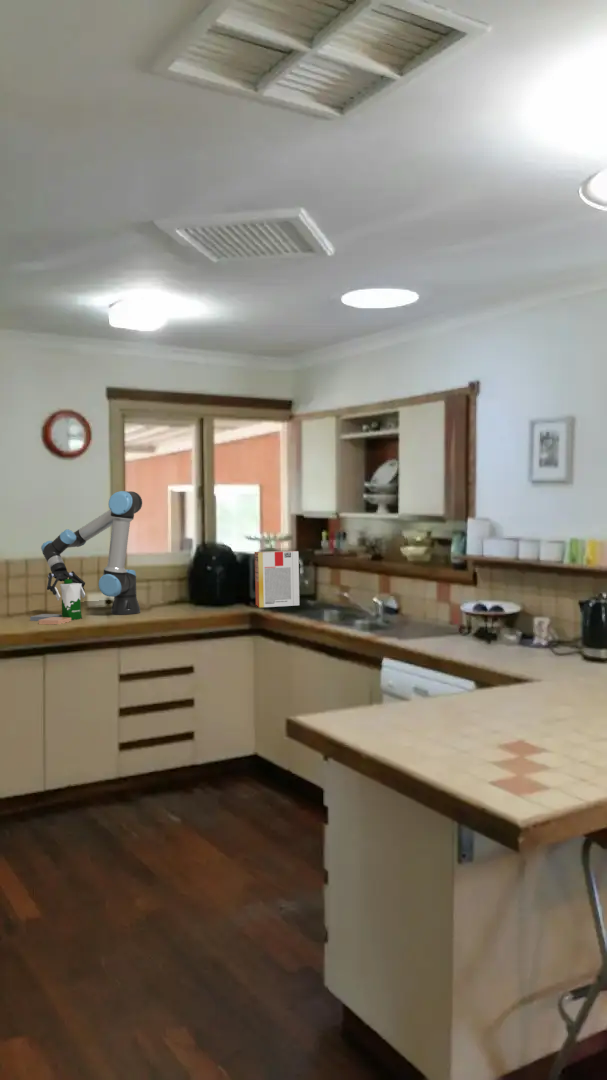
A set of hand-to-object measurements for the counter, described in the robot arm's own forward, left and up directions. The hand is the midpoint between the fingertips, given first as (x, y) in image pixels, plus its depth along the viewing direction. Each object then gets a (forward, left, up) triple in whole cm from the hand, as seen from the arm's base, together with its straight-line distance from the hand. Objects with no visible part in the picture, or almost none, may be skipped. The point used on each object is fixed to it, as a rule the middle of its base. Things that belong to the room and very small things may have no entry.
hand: (71, 597), depth 429 cm
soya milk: (+1, -1, -11) cm, 11 cm away
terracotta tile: (+1, +13, -11) cm, 17 cm away
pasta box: (-83, -73, -11) cm, 111 cm away
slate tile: (+13, +3, -11) cm, 17 cm away
